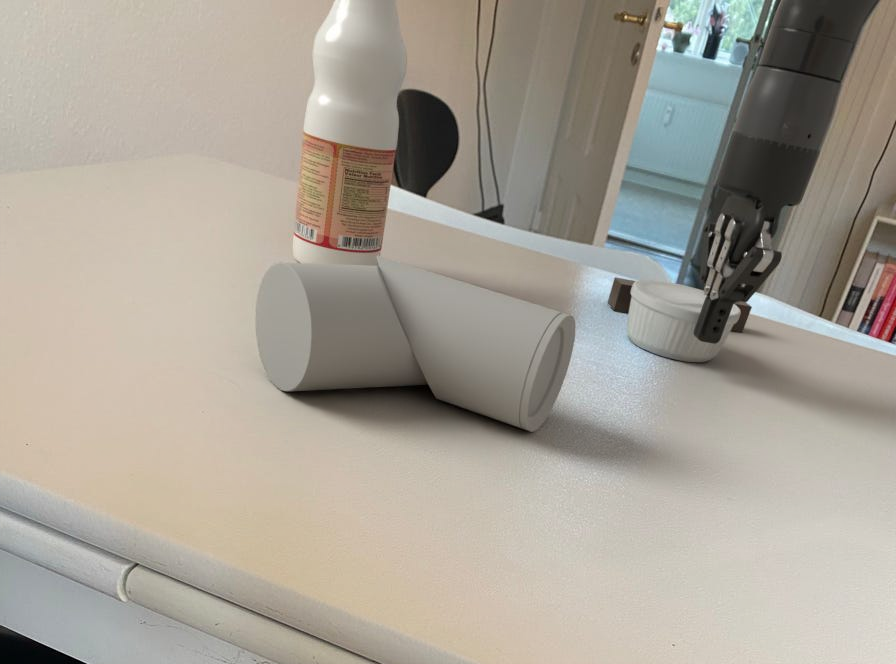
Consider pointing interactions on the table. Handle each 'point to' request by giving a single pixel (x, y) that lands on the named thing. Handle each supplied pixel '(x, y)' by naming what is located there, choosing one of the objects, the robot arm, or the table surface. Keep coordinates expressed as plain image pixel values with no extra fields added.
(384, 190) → the fruit juice
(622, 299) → the stop bar
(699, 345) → the ramekin
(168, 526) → the table surface
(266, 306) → the elbow connector
